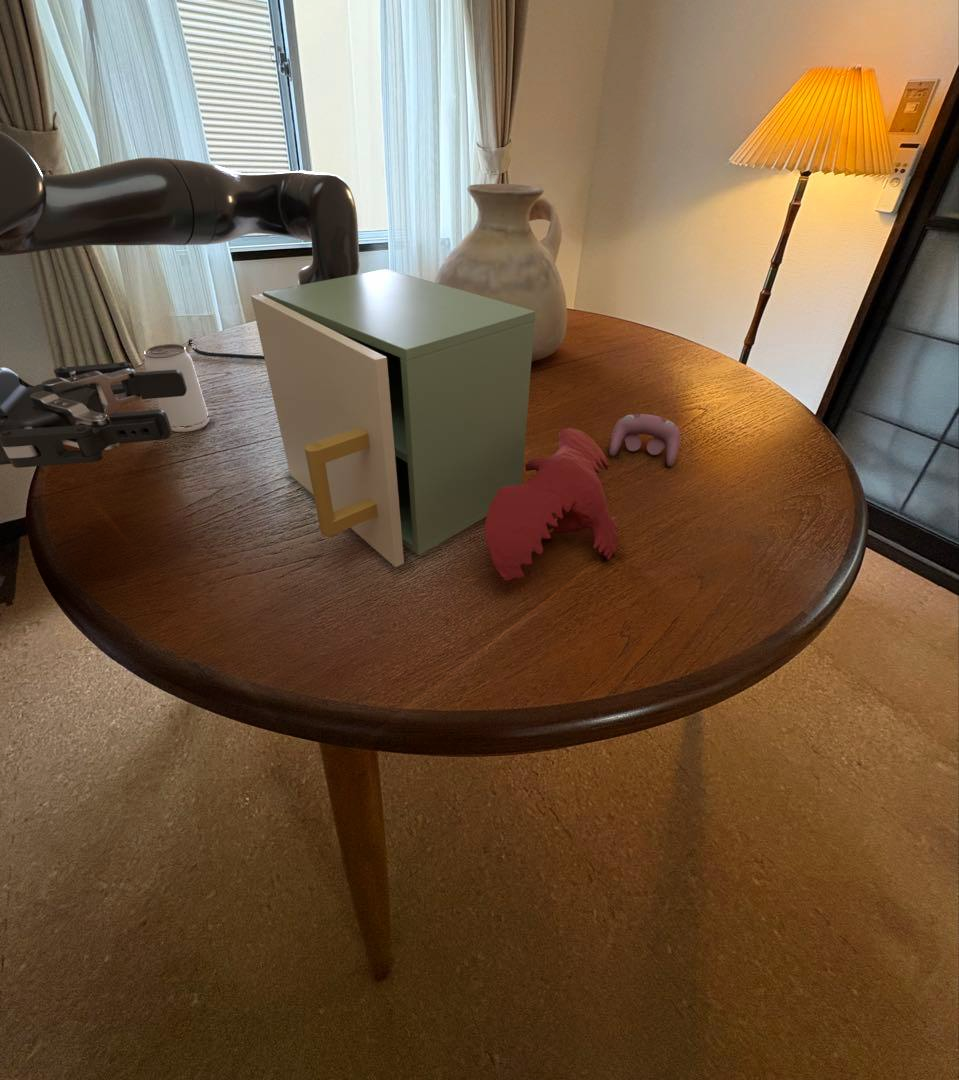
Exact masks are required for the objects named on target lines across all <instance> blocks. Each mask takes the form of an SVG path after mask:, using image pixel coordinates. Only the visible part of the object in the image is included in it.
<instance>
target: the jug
mask: <svg viewBox="0 0 959 1080" xmlns="http://www.w3.org/2000/svg"><path fill="white" fill-rule="evenodd" d="M466 190H467V192H468V194H469V195H470V196H471V198H472V199H473V201H474V203H475V205H476V208H477V219H476V221H475V224H474V226H473V228H472V230H471V231H469V232H468V234H466V235H465V237H464V238H462V240H461V241H459V243H458V244H457V245H456V246H455V247H454V248H453V249H452V250H451V251H450V252H449V253H448V254H447V256H446V257H445V259H444V260H443V262H442V263H441V265H440V266H439V269H438V272H437V273H436V275H435V278H434V279H433V282H434V283H438V284H441V285H445V286H448V287H452V288H455V289H459V290H462V291H466V292H469V293H473V294H476V295H480V296H483V297H487V298H490V299H494V300H497V301H501V302H504V303H508V304H511V305H515V306H518V307H522V308H526V309H529V310H533V311H535V321H534V334H533V347H532V360H531V363H534V362H536V361H539V360H543V359H545V358H548V357H549V356H550V355H552V354H554V353H555V352H557V350H558V349H560V347H561V345H562V344H563V341H564V339H565V336H566V333H567V327H568V325H567V324H568V309H567V307H568V306H567V298H566V293H565V288H564V284H563V281H562V278H561V276H560V272H559V269H558V268H557V266H556V262H557V258H558V255H559V252H560V247H561V242H562V232H563V231H562V226H561V221H560V217H559V215H558V212H557V209H556V207H555V206H554V204H553V203H552V202H551V201H550V200H549V199H548V198H546V197H543V196H542V195H543V194H544V188H542V187H541V186H533V185H525V184H515V183H514V184H513V183H510V184H509V183H480V184H479V183H478V184H477V183H476V184H470V185H468V186H467V189H466ZM536 220H537V221H538V220H545V221H547V222H549V226H548V231H547V234H546V235H545V236H544V238H543V239H540V240H539V239H538V238H537V236H535V234H534V232H533V230H532V227H531V224H530V222H531V221H536Z"/></svg>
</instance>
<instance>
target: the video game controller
mask: <svg viewBox="0 0 959 1080" xmlns="http://www.w3.org/2000/svg"><path fill="white" fill-rule="evenodd" d="M639 435H645V436H646V435H647V436H651V437H653V438H651V440H649V442H647V445H646V451H647V452H648V454H650V455H652V456H657V455H659V454H660V453H661V452H662V451H663V450H664V449H666V454H665V455H666V457H665V458H666V459H665V460H666V465H667V467H673V465H674V464H675V462H676V460H677V456H678V454H679V453H678V452H679V449H680V441H681V431H680V429H679V426H677V425H676V424H675V423H674V422H672V421H671V420H668V419H667V418H664V417H661V416H659V415H656V414H655V415H654V414H647V413H637V414H627V415H625V416H623V417H621V418H620V419H619V420H617V421H616V423H615V425H614V427H613V430H612V433H611V437H610V443H609V448H608V449H609V451H608V452H609V456H610V457H612V458H613V457H615V456H616V455H617V454H618V452H619V450H620V448H621V447H622V443H623V442H624V444H625V447H626V449H627V450H628V451H630V452H636V451H638V450H639V449H640V448H641V446H642V440H641V438H640V436H639Z"/></svg>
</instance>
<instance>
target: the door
mask: <svg viewBox="0 0 959 1080" xmlns="http://www.w3.org/2000/svg"><path fill="white" fill-rule="evenodd" d="M250 299H251V303H252V304H251V305H252V308H253V312H254V318H255V321H256V327H257V330H258V331H257V332H258V335H259V340H260V344H261V350H262V355H263V356H264V359H265V360H264V359H263V360H264V363H265V367H266V372H267V376H268V381H269V385H270V390H271V395H272V400H273V405H274V408H275V414H276V418H277V422H278V427H279V431H280V436H281V441H282V444H283V445H282V446H283V450H284V454H285V459H286V462H287V468H288V472H289V476H291V477H292V478H293V479H294V480H295V481H296V482H298V483H299V484H300V485H301V486H302V487H303V488H305V489H306V490H307V491H308V492H309V493H310V494H312V495H313V498H314V504H315V509H316V513H317V519H318V525H319V529H320V534H321V536H324V537H332V536H334V535H337V534H339V533H341V532H343V531H346V530H348V529H351V530H352V531H353V532H354V533H355V534H357V535H358V536H359V537H360V538H361V539H362V540H364V541H365V542H366V543H367V544H368V545H369V546H371V548H373V549H374V550H375V551H376V552H377V553H378V554H379V555H381V557H383V558H384V559H385V560H386V561H388V562H389V563H390V564H391V565H392V566H393V567H394V568H397V567H399V566H402V565H403V564H405V557H404V545H403V544H402V533H401V521H400V509H399V497H398V485H397V473H396V461H395V449H394V437H393V426H392V414H391V402H390V390H389V378H388V366H387V357H385V356H383V355H381V354H379V353H377V352H375V351H373V350H371V349H369V348H367V347H365V346H363V345H361V344H359V343H357V342H355V341H353V340H351V339H349V338H347V337H345V336H343V335H341V334H339V333H337V332H335V331H333V330H331V329H329V328H327V327H325V326H323V325H321V324H319V323H317V322H315V321H313V320H311V319H309V318H307V317H305V316H303V315H301V314H299V313H297V312H295V311H293V310H291V309H289V308H287V307H285V306H283V305H281V304H279V303H277V302H275V301H273V300H271V299H269V298H267V297H265V296H263V294H261V293H259V294H258V293H257V294H253V295H252V294H251V295H250Z"/></svg>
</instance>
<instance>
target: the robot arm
mask: <svg viewBox="0 0 959 1080" xmlns="http://www.w3.org/2000/svg"><path fill="white" fill-rule="evenodd" d="M356 206H357V205H356V203H355V199H354V195H353V193H352V191H351V188H350V187H349V185H348V184H347V182H346V181H345V180H344V179H343V178H341V177H340V176H338V175H335V174H331V173H325V172H314V171H307V170H299V171H298V170H296V171H286V172H285V171H283V172H275V173H241V172H237V171H234V170H231V169H228V168H225V167H222V166H219V165H215V164H211V163H206V162H201V161H195V160H189V159H188V160H187V159H179V158H168V157H138V158H133V159H126V160H122V161H117V162H113V163H108V164H104V165H101V166H96V167H94V168H90V169H86V170H81V171H77V172H71V173H63V174H62V173H61V174H43V173H42V171H41V170H40V167H39V166H38V164H37V162H36V160H34V158H33V157H32V156H31V155H30V153H29V152H28V151H27V149H25V148H24V147H23V146H22V145H21V144H20V143H18V142H17V141H16V140H14V139H13V137H11V136H9V135H7V134H6V133H4V132H3V131H1V130H0V257H5V256H15V255H21V254H22V255H23V254H29V253H35V252H43V251H52V250H59V249H65V248H66V249H67V248H75V247H87V246H88V247H89V246H208V245H209V246H210V245H216V244H223V243H226V242H230V241H232V240H236V239H238V238H240V237H243V236H246V235H253V234H263V235H273V236H281V237H288V238H293V239H297V240H300V241H306V242H310V243H311V249H312V251H311V252H312V262H311V264H310V265H308V266H307V265H306V266H304V267H302V268H301V269H300V270H299V271H298V274H297V279H298V281H297V283H298V285H304V284H309V283H314V282H319V281H325V280H330V279H335V278H341V277H346V276H351V275H357V274H359V270H360V261H361V260H360V246H359V226H358V213H357V207H356ZM192 341H193V343H194V344H195V342H194V339H192V338H189V339H188V342H187V344H188V343H189V344H188V345H190V347H191V348H192V346H191V344H193V343H190V342H192ZM192 350H193V352H194V353H196V354H199V355H202V356H206V357H214V358H217V357H218V358H235V359H248V360H264V361H265V359H264V355H257V354H239V353H226V352H225V353H224V352H209V351H204V350H200V349H198V348H197V347H196V349H194V348H192ZM53 373H54V375H55V377H54V378H49V379H46V380H44V381H42V382H41V383H39V384H36V385H32V384H29V383H27V382H26V381H25V380H24V379H22V378H21V377H20V376H19V375H18V374H17V373H15V372H14V371H13V370H11V369H10V368H8V367H5V366H2V365H0V466H3V465H12V466H13V468H17V469H18V468H19V469H21V468H32V467H35V468H36V467H45V466H46V467H47V466H61V465H74V464H87V463H96V462H99V461H102V460H103V459H104V458H105V455H104V454H103V451H111V450H115V449H116V448H118V447H119V446H120V444H130V443H139V442H140V443H141V442H150V441H162V440H167V439H169V438H170V437H171V435H172V432H173V431H172V429H171V426H170V423H169V420H168V417H167V415H166V413H165V412H164V411H163V410H160V408H159V409H157V408H156V409H148V410H146V409H145V410H135V411H123V412H119V410H120V407H121V406H122V405H125V404H128V403H131V402H135V401H139V400H152V399H156V398H166V397H178V396H184V395H185V394H186V391H187V387H186V384H185V380H184V377H183V374H182V373H181V372H180V371H179V370H163V371H149V372H147V371H137V372H136V371H135V370H134V369H133V367H132V364H131V362H128V361H126V362H125V361H121V362H110V363H100V364H99V363H98V364H97V363H96V364H86V365H76V366H75V365H74V366H73V365H72V366H60V367H57V368H55V369H54V370H53ZM119 382H120V383H119ZM115 383H116V384H115ZM117 383H119V384H117ZM65 445H66V446H70V447H74V448H78V450H77V449H75V450H69V449H67V447H65Z"/></svg>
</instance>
